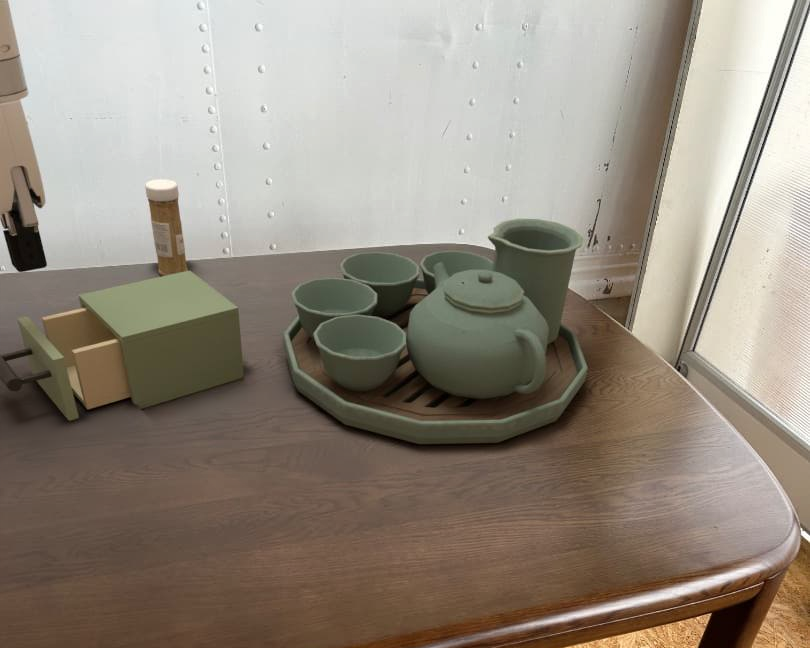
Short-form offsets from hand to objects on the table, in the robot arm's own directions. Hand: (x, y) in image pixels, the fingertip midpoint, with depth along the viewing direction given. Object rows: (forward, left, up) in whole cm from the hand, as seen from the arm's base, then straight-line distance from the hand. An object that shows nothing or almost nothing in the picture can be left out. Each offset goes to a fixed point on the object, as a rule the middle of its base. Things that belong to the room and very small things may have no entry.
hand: (30, 266), depth 86 cm
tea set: (+43, -20, -16) cm, 50 cm away
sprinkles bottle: (+27, +25, -16) cm, 40 cm away
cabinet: (+13, -3, -15) cm, 20 cm away
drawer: (+2, -3, -14) cm, 15 cm away
